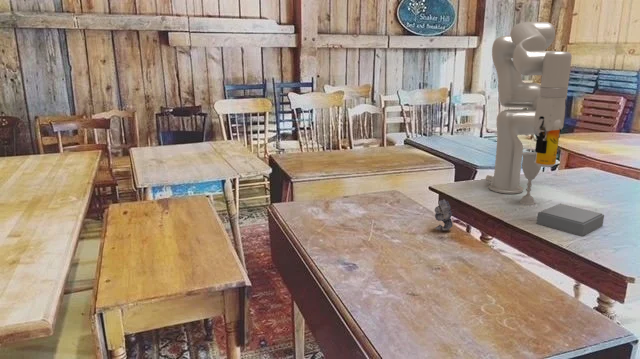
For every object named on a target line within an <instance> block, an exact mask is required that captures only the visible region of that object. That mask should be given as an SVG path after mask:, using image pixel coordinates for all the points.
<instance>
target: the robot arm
mask: <svg viewBox="0 0 640 359" xmlns="http://www.w3.org/2000/svg"><path fill="white" fill-rule="evenodd" d="M555 38H556V30H555V26H554V25H553V24H552V23H550V22H548V21H523V22H518V23H517V24H515V25H514V26H513V27H512V28H511V30H510V34H509V35H501V36H498V37H497V38H496V39H495V40H494V41H493V43H492V48H491V56H492V62H493V65H494V68H495V71H496V74H497V85H498V99H499V103H500V105H501V106H502V107H504V108H511V109H505V110H501V111H499V113H498V114H497V117H496V131H497V134H496V151H495V152H496V153H495V160H494V161H495V164H494V172H493V176H492V175H489V174H487V175H486V176H485V182H490V184H489V185H488V189H489V190H490V191H492V192H495V193H500V194H509V195H510V194H511V195H515V194H520V193H522V192H523V191H524V188H523V187H522V186H521V185H520V180H521V171H522V160H523V155H522V153H523V152H524V146H523V142H522V141H521V140H520V138H519V137H518V136H521V135H525V136H526V135H530V136H531V135H533V136H535V140H536V141H535V142H536V143H535V150H534V152H537V153H543V154H545V153H546V148H547V141H546V139H547V135H548V132H549V131H551V130H552V127H553V124H554V122H555V121H556V119H560V121H561V125H560V133H559V138H560V136H561V133H562V130H563V128H564V124H565V123H564V122H565V116H566V115H565V113H566V99H567V96H568V90H569V83H570V82H569V81H570V73H571V65H572V58H573V57H572V53H571V52H569V51H560V50H547V49H548V48H549V47H551V46H552V43H553V42H554V41H555ZM522 75H524V76H541V79H540V84H539V83H537V82H523V80H522ZM516 108H518V109H516ZM523 108H526V109H523ZM541 128H545V130H541ZM542 132H543V133H544V135H543V133H542ZM558 143H560V139H559V140H558ZM558 148H559V147H558ZM558 148H557V150H558Z"/></svg>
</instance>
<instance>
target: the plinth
mask: <svg viewBox="0 0 640 359" xmlns="http://www.w3.org/2000/svg"><path fill="white" fill-rule="evenodd" d="M604 219H605V214H603V213H601V212H597V211H594V210H588V209H584V208H581V207H577V206H572V205H568V204H564V203H558V204H556V205H553V206H551V207H549V208H545V209H543V210H541V211H538V212H537V219H536V224H537V225H541V226H545V227H547V228H548V227H549V228H551V229H554V230H555V229H556V230H559V231H562V232H566V233H569V234H574V235H576V236H581V237H584V236H585V235H587V234H590V233H591V232H593V231H595V230H598V229H599V228H601V227H602V226H603V224H604Z"/></svg>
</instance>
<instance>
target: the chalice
mask: <svg viewBox="0 0 640 359" xmlns="http://www.w3.org/2000/svg"><path fill="white" fill-rule="evenodd" d="M534 161H535V151H523V153H522V163H521V170H522V172H523V175H524V178H525V179H526V180H527V184H526V186H527V188H526V189H525V190H526V194H525V195H523V196H522V198H521V200H520V201H519V203H520V204H522V205H527V206H532V205H535V204H536V203H535V200H534V197H533V196H531V194H530V193H531V191H532V189H531V187H532V180H535V179H536V177H537V176H538V174H539V173H540V171H541V169H542V167H541V166H537V165H536V163H535V162H534Z"/></svg>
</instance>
